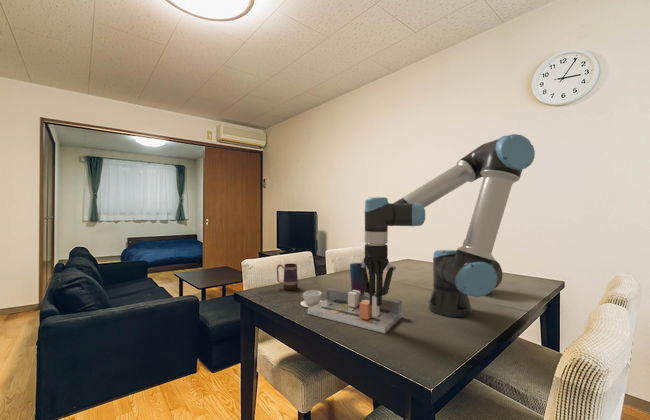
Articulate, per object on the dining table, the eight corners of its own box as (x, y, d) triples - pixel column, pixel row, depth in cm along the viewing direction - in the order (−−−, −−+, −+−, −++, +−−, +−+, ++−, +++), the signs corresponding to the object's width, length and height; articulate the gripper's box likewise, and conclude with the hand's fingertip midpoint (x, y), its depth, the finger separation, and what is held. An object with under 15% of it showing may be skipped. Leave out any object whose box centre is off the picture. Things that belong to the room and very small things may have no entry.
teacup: (329, 303, 119) (329, 291, 119) (315, 310, 111) (315, 298, 111) (310, 298, 125) (310, 288, 125) (295, 305, 116) (295, 293, 116)
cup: (365, 302, 119) (365, 266, 119) (349, 301, 120) (349, 265, 120) (366, 297, 126) (366, 263, 126) (350, 296, 127) (350, 262, 127)
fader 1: (360, 304, 110) (360, 290, 110) (355, 307, 107) (355, 293, 107) (353, 302, 112) (353, 289, 112) (347, 305, 108) (347, 292, 108)
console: (401, 317, 103) (401, 300, 103) (384, 333, 90) (384, 314, 90) (330, 301, 120) (330, 287, 120) (307, 313, 107) (307, 297, 107)
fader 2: (373, 315, 99) (373, 300, 99) (367, 319, 95) (367, 303, 95) (365, 313, 101) (365, 298, 101) (359, 317, 97) (359, 302, 97)
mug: (297, 286, 144) (297, 262, 144) (298, 290, 137) (298, 265, 137) (277, 287, 142) (276, 262, 142) (276, 291, 135) (276, 265, 135)
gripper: (398, 244, 95) (398, 315, 96) (363, 241, 102) (362, 307, 103) (390, 246, 89) (390, 322, 89) (353, 243, 96) (353, 314, 96)
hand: (375, 314), depth 96 cm, fingers closed
